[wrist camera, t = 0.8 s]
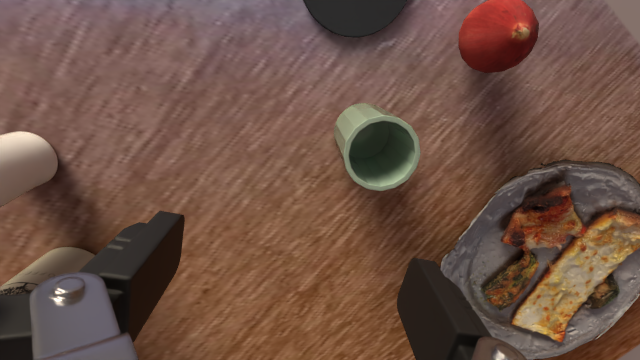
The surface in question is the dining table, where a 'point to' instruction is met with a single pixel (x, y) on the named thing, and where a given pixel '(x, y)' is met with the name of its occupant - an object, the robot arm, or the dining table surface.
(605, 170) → the food plate
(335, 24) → the coaster
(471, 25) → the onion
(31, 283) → the travel mug
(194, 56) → the dining table surface
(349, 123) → the cup
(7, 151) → the drinking glass
